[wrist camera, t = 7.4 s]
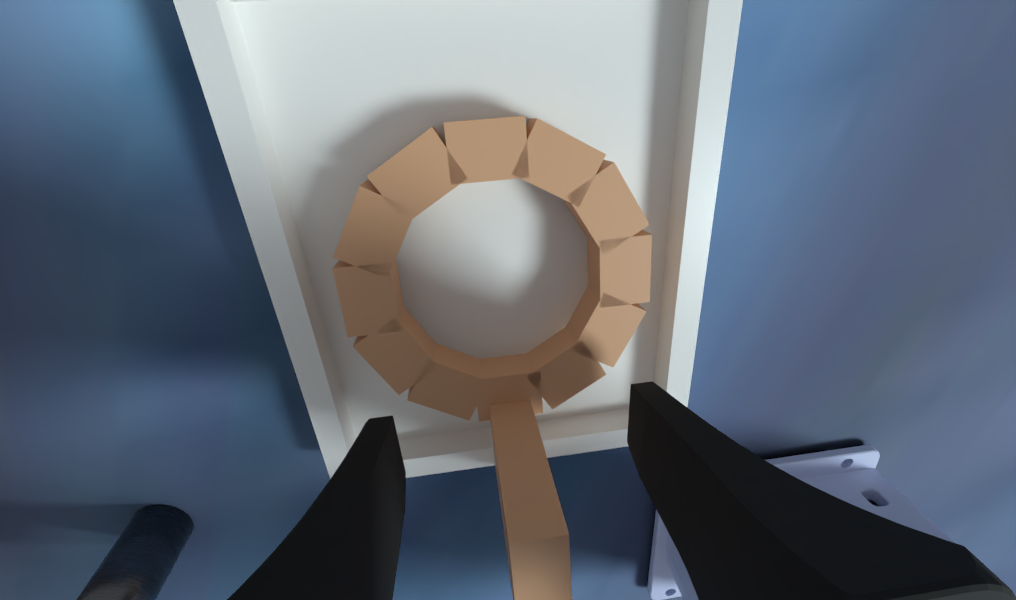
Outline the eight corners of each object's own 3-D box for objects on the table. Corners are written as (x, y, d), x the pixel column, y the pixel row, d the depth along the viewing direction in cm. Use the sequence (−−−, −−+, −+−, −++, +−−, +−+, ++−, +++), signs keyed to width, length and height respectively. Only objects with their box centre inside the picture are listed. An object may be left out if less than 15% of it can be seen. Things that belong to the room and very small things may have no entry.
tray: (714, -64, 11) (754, -82, 10) (664, 408, 18) (683, 438, 17) (195, -35, 10) (156, -51, 9) (342, 452, 17) (333, 488, 16)
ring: (630, 446, 16) (724, 616, 11) (390, 480, 16) (357, 680, 10) (637, 106, 12) (793, 95, 7) (316, 132, 12) (195, 145, 6)
